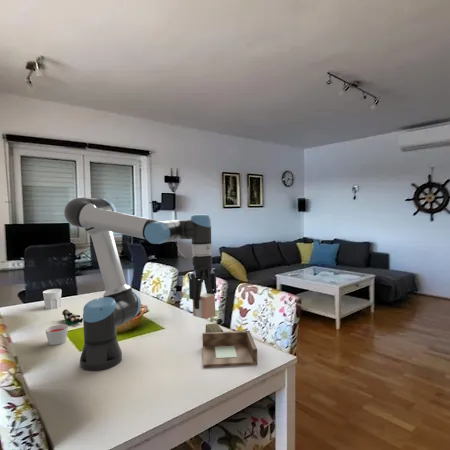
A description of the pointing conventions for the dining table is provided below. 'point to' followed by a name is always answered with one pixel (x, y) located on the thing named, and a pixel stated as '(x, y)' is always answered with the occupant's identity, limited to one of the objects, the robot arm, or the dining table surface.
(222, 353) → the sage pad
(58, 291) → the cup
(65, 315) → the figurine
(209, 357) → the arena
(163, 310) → the dining table surface
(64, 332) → the candle
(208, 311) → the terracotta block
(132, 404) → the dining table surface
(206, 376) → the dining table surface
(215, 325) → the stone block
